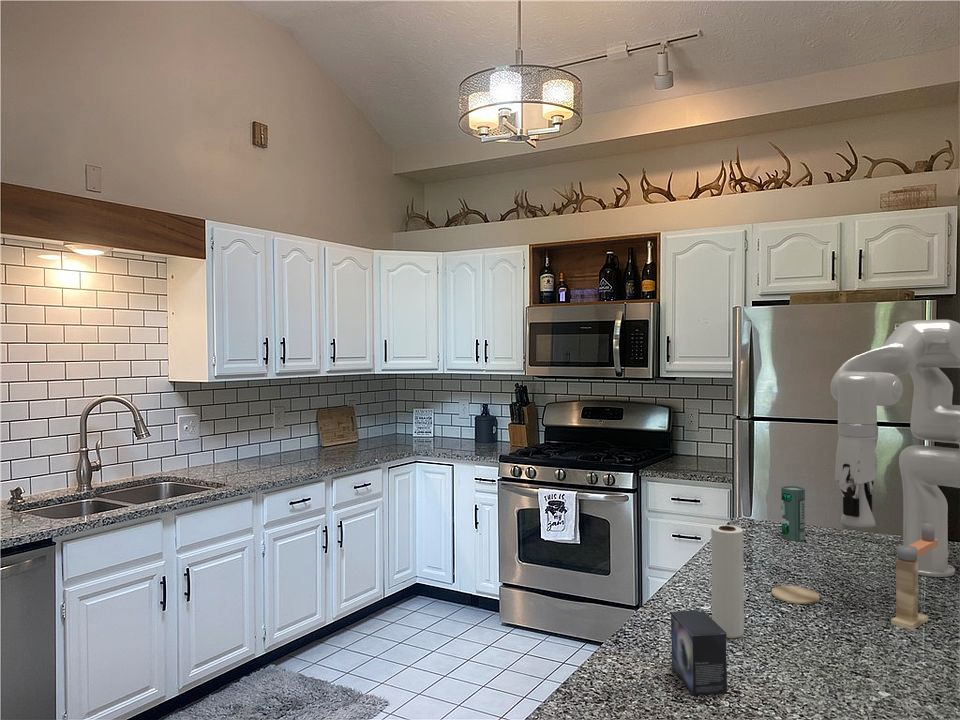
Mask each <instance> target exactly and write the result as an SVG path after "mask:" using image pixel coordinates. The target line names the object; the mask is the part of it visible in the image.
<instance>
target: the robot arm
mask: <svg viewBox="0 0 960 720" xmlns="http://www.w3.org/2000/svg"><path fill="white" fill-rule="evenodd" d="M941 368H942V369H943V368H951V369H952V368H953V369H955V368H957V369H960V323H959V322H957V321H954V320H951V319H918V320H908V321H905V322H902V323H901V324H900V325H898V326H897V327H896V328H895V329H894V330H893V332H892V333H890V335H889V336H888V338H887V339H886V340H885V341H884V342H883V344H881V346H878V347H876V348H872V349H870V350H868V351H865V352H863V353H861V354H857V355H855V356H853V357H851V358H849V359H847V360H846V361H845V362H843V364H842V365H840V367H839V368H838V369H837V371H836V372H834V375H833V376H832V379H831V381H830V386H829V387H830V389H829V391H830V394H831V396H832V398H833V399H834V400H835V401H836V402H837V438H838V439H837V446H836V450H835V452H836V453H835V468H834V469H835V471H834V473H835V474H834V479H835V482H837V483H838V484H837V485H838V487H839V488H840V490H841V495H842V496H841V497H842V504H843V505H842V511H843V512H842V515H843V514H844V515H848V516H853V517H859V498H857V496H858V489H859V485H860V484H864V490H865V495H866V498H867V501H868V504H869V507H870V509H871V512H872V513H873V493H874V487H873V486H874V483H875V482H874V481H875V479H876V478H877V473H878V470H877V469H878V466H877V465H878V463H877V462H878V461H877V446H876V440H877V439H878V424H877V423H878V410H877V409H878V407H889V406H893V405H895V404H896V403H898V402H899V401H900V400H901V397H902V396H903V393H904V386H903V382H902V379H900V378H899V377H901V376H904V375H907V374H909V375H910V377H911V379H912V383H913V384H912V385H913V394H912V403H911V404H912V405H911V414H910V422H909V423H910V432H911V434H912V435H913V437H914V438H916V439H919V440H923V441H928V442H939V443H948V444H956V445H959V447H960V404H959V405H958V404H953V393H954V385H953V384H952V381H951V380H950V378H948V376H947V375H946V374H945V372H943V371H942V370H941ZM898 465H899V471H900V476H901V482H902V491H903V492H902V493H903V494H902V495H903V499H902V500H903V505H902V506H903V507H902V508H903V513H902V514H903V519H902V520H903V526H902V528H903V531H902V532H903V535H902V536H903V537H902V538H903V540H902V541H903V544H902V545H907V546H909V545H911V544H913V543H915V542H917V541H919V540H921V539H922V523H931V524H934V525H935V539H938V547H936V548H934V549H932V550H930V551H929V552H927V553H925V554H923V555H921V556H919V557H918V558H917V560H918V576H921V577H923V576H924V577H929V578H930V577H931V578H947V577H948V578H949V577H952V576H954V575H955V574H956V568H955V567H954V566H953V565H951V564H949V563H948V556H949V555H950V552H949V550H948V545H949V544H948V540H949V539H948V527H949V525H948V517H949V516H948V514H949V513H948V511H949V510H948V509H949V507H948V501H947V498H946V496H945V495H944V493H943V492H942V490H941V489H940V488H939V486H942V487H943V486H944V487H950V488H951V487H952V488H957V489H960V448H953V447H944V446H943V447H942V446H936V445H935V446H933V445H924V444H923V445H922V444H916V445H909V446H906V447H905V448H904V449H902V450H901V452H900V454H899V457H898ZM850 480H851V481H854V482H853V483H851V482H850ZM851 486H853V487H854V488H853V490H852V488H851Z"/></svg>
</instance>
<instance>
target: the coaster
mask: <svg viewBox="0 0 960 720" xmlns="http://www.w3.org/2000/svg"><path fill="white" fill-rule="evenodd" d="M771 595H773V596H774V597H776V598H777V600H778V599H780V600H783V601H786V602H785V603H787V602H789V603H788V604H792V603H794V604H793V605H800V604H809V605H814V604H813V603H815V604H817V603H819V602H820V594H819V593H818V592H816V590H812V589H810V588H807V587H803V586H797V585H777V586H774V587H772V589H771ZM773 596H772V597H773ZM774 597H773V598H774ZM776 598H775V599H776ZM780 600H779V601H780ZM783 601H782V602H783ZM818 601H819V602H818ZM816 602H817V603H816Z"/></svg>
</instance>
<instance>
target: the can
mask: <svg viewBox="0 0 960 720" xmlns="http://www.w3.org/2000/svg"><path fill="white" fill-rule="evenodd" d="M780 491H781V493H780V494H781V498H780V499H781V501H780V502H781V538H782V539H784V540H787V541H790V542H802V541H805V540H806V488H805V487H802V486H797V485H795V486H794V485H785V486H784V485H783V486H781V490H780Z"/></svg>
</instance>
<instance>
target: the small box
mask: <svg viewBox="0 0 960 720" xmlns="http://www.w3.org/2000/svg"><path fill="white" fill-rule="evenodd" d="M670 630H671V631H670V632H671V633H670V634H671V636H670V637H671V645H670V646H671V668H672V669H673V670H674V672H675V673H676V674H677V675H678V677H679V678H680V680H681V681H682V683H683V684H684V685H685V687H686V688H687V689H688V691H689V692H690V693H691V695H692V696H707V695H708V696H710V695H725V694H728V692H729V691H728V690H729V689H728V674H727V673H728V670H727V669H728V668H727V667H728V666H727V633H726V632H725V631H724V630H723V629H722V628H721V627H720V626H719V625H718V624H717V623H716V622H715V621H714V620H713V619H712V617H711V616H710V615H708V613H707V612H705V611H704V610H703V609H692V610H691V609H689V610H677V611H670Z"/></svg>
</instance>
